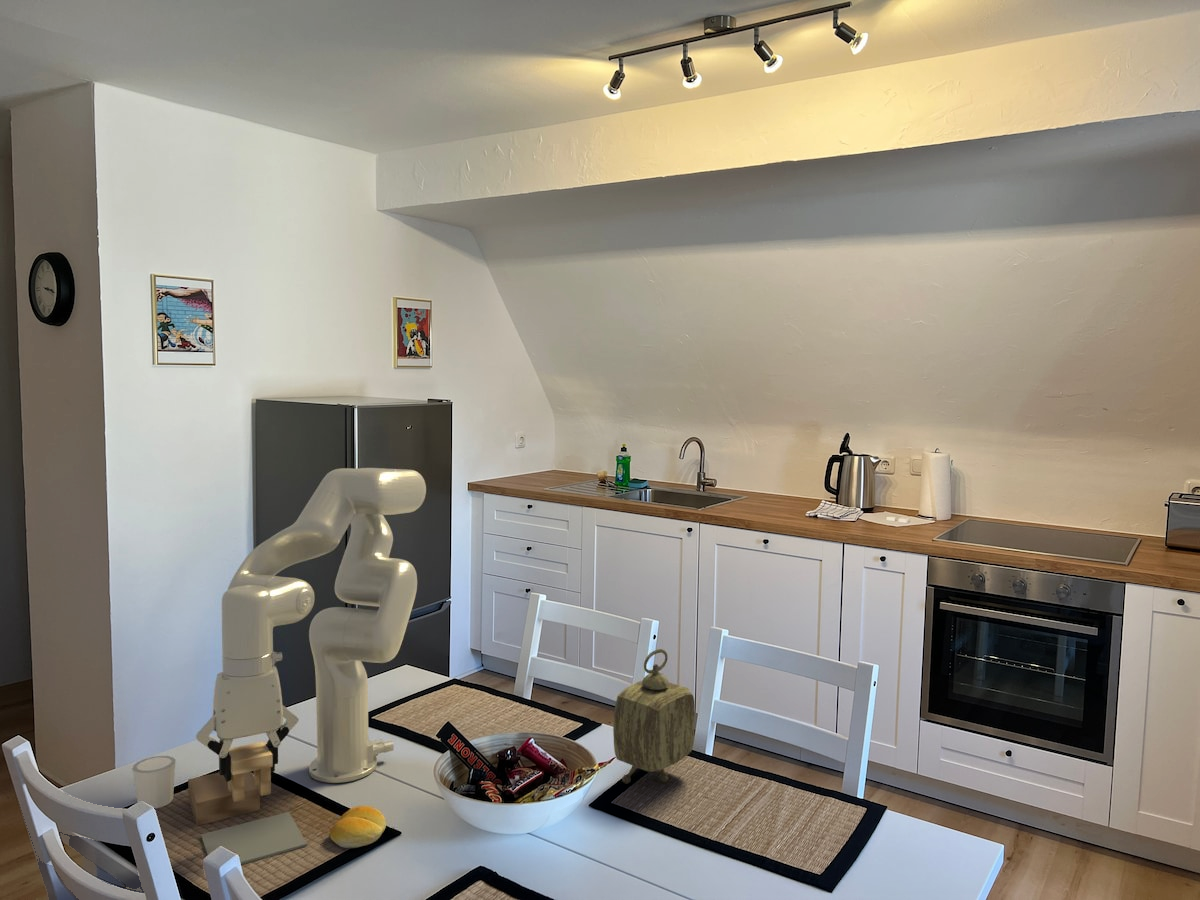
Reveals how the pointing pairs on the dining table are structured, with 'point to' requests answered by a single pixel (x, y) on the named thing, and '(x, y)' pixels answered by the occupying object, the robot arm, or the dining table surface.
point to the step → (220, 798)
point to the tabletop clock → (653, 723)
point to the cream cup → (155, 780)
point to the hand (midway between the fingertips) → (249, 772)
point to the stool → (250, 768)
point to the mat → (257, 838)
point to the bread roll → (358, 827)
